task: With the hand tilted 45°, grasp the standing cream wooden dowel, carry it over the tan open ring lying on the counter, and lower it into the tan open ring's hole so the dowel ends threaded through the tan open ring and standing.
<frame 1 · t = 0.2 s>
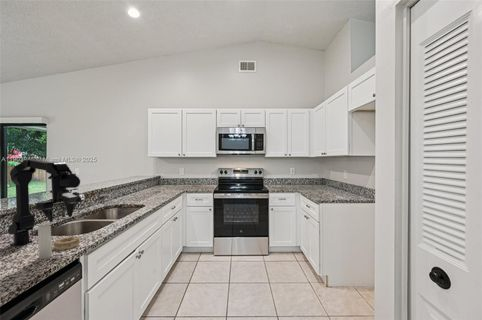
hand: (61, 219, 120), 14 cm above the worktop, tool pointing down, fingers open, 9 cm apart
tan open ring: (67, 245, 124), on the worktop
dowel: (45, 256, 110), on the worktop
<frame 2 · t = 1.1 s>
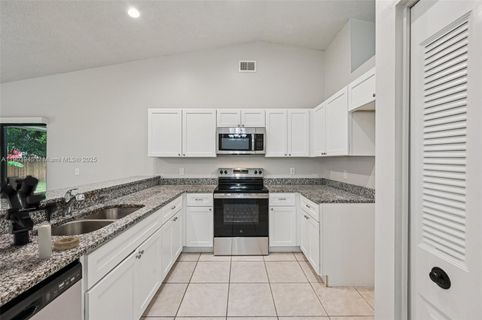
hand: (37, 224, 114), 13 cm above the worktop, tool tilted 45°, fingers open, 9 cm apart
nothing on the worktop moved.
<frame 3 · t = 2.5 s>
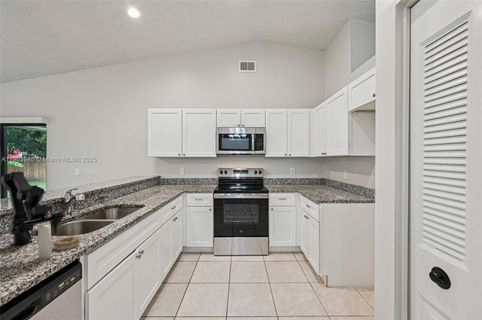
hand: (43, 236, 111), 9 cm above the worktop, tool tilted 45°, fingers open, 9 cm apart
nothing on the worktop moved.
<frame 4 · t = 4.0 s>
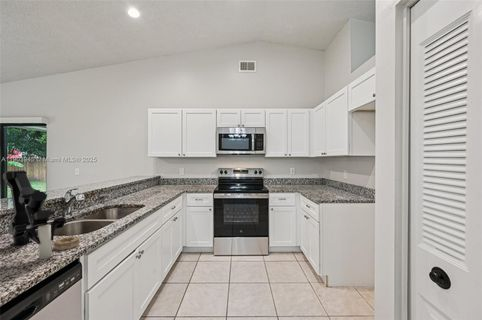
hand: (46, 242, 109), 7 cm above the worktop, tool tilted 45°, fingers closed on dowel, 4 cm apart
dowel: (45, 256, 110), on the worktop, touching gripper
everything else where it was.
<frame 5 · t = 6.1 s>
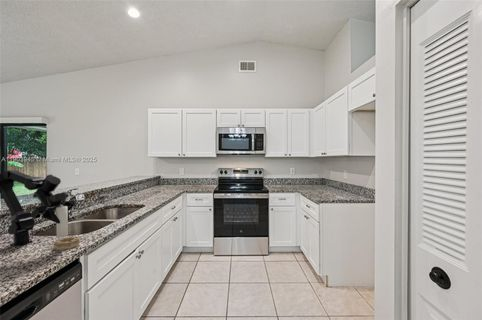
hand: (64, 221, 119), 13 cm above the worktop, tool tilted 45°, fingers closed on dowel, 4 cm apart
dowel: (62, 235, 120), point 6 cm above the worktop, touching gripper
everything else where it was.
when the fingers open (9 cm above the worktop, at t = 8.4 s): dowel drops 1 cm, resting in tan open ring.
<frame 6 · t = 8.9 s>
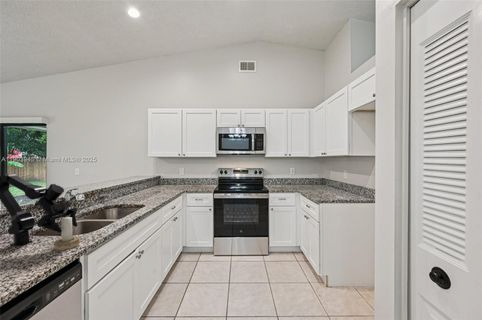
hand: (69, 229, 123), 9 cm above the worktop, tool tilted 45°, fingers open, 9 cm apart
dowel: (67, 245, 124), resting in tan open ring
everything else where it was.
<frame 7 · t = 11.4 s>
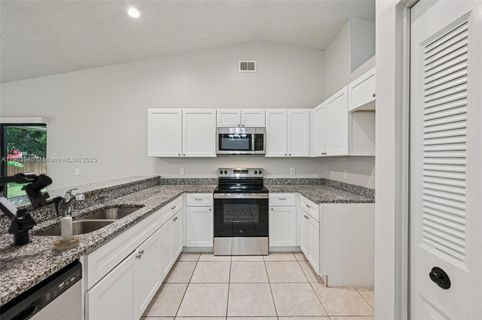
hand: (47, 221, 124), 12 cm above the worktop, tool tilted 30°, fingers open, 9 cm apart
nothing on the worktop moved.
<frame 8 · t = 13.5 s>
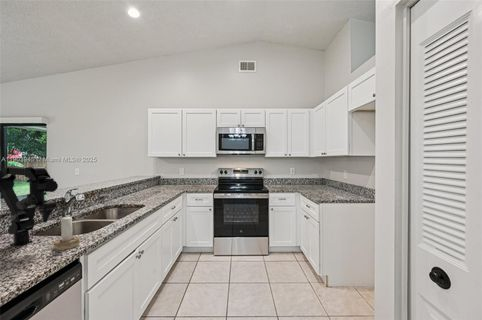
hand: (38, 221, 124), 12 cm above the worktop, tool pointing down, fingers open, 9 cm apart
nothing on the worktop moved.
at the end: dowel 0.0 cm off-centre on the tan open ring, point 0.0 cm above the tan open ring's base; the gripper is holding nothing; dowel tilted 0° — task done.
